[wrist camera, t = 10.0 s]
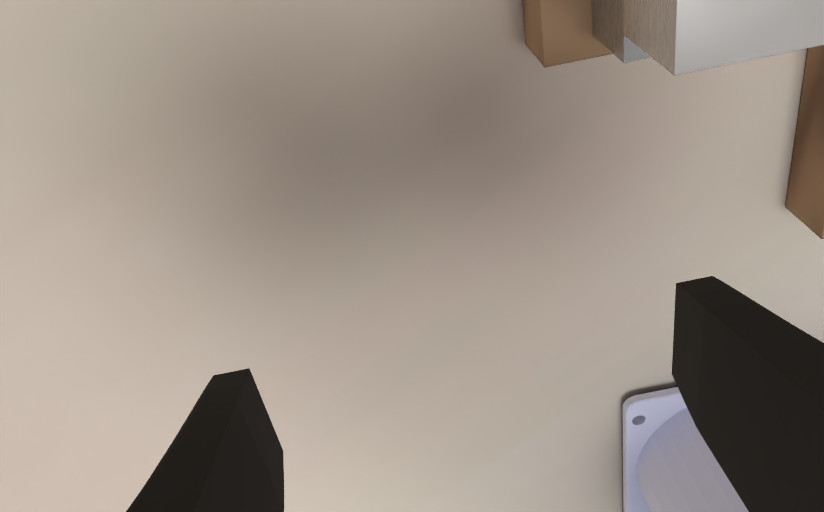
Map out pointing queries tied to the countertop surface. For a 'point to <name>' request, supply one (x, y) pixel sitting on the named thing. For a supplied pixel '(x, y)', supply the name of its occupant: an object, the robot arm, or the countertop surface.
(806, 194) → the stand
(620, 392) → the countertop surface
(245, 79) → the countertop surface
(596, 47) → the stand
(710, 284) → the robot arm
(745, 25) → the block
